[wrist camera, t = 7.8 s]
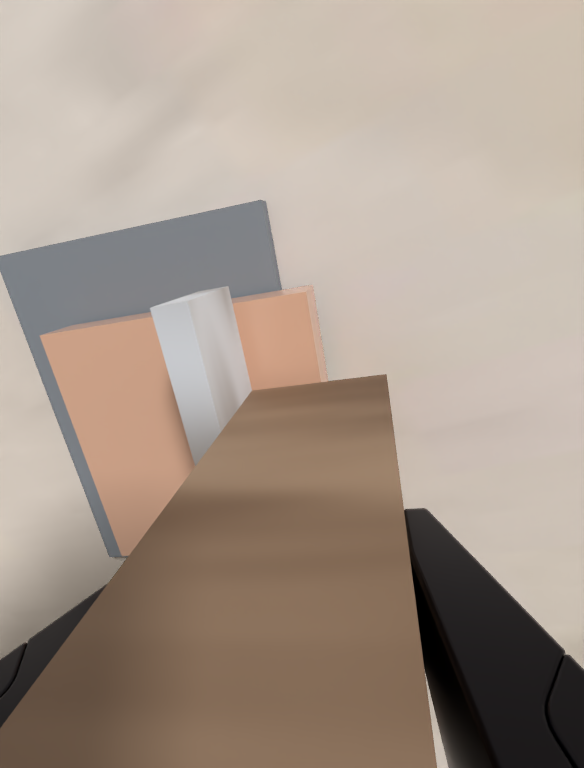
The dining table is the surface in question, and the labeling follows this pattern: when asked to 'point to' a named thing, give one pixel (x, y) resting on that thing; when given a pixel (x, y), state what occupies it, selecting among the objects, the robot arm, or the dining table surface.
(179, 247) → the slate mat
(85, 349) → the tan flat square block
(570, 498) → the dining table surface
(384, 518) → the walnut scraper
